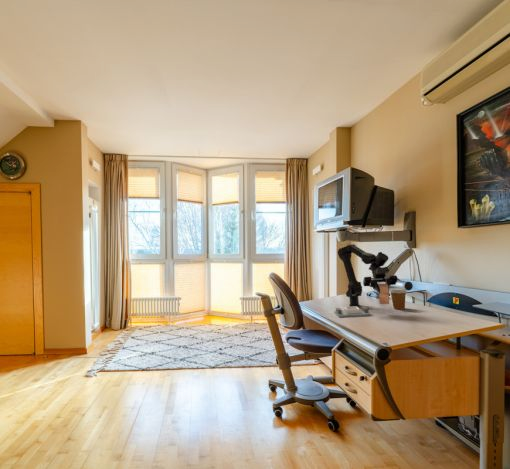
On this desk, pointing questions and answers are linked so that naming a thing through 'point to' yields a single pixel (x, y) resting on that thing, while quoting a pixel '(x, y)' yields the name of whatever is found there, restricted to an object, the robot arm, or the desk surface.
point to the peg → (383, 294)
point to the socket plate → (352, 312)
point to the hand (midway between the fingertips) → (384, 292)
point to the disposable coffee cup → (398, 297)
